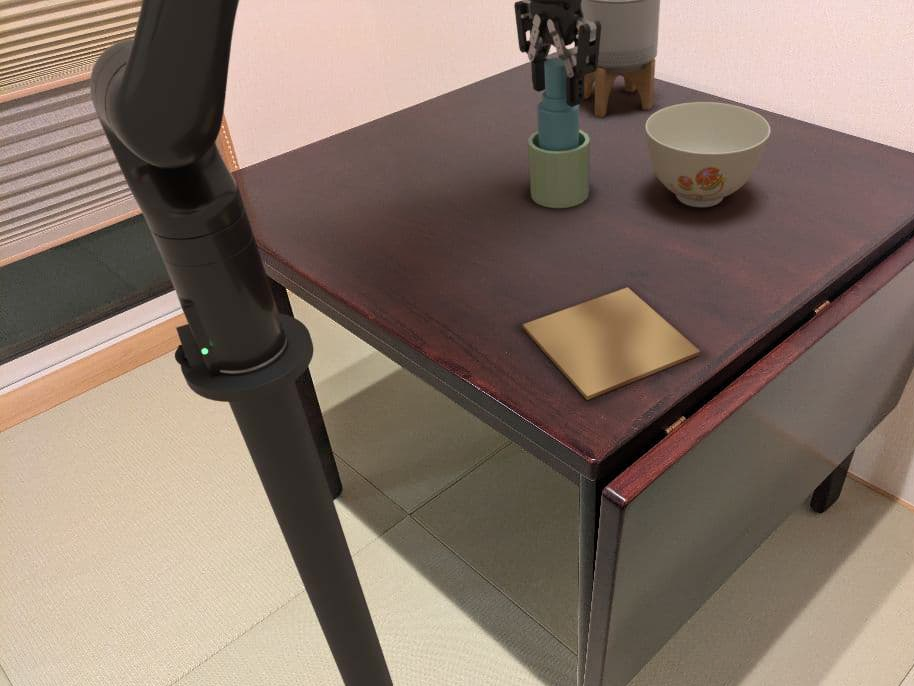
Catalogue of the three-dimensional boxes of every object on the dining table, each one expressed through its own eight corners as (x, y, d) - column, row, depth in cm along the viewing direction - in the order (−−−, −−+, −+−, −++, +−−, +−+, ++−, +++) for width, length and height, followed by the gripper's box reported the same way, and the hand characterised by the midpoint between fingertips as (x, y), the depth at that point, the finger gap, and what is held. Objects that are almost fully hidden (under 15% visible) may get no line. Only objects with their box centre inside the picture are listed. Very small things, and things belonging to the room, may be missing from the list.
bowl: (621, 208, 108) (624, 137, 101) (671, 161, 118) (676, 93, 111) (732, 237, 101) (743, 163, 94) (775, 185, 111) (788, 115, 104)
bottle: (552, 203, 108) (548, 73, 96) (533, 187, 112) (528, 59, 100) (586, 192, 110) (586, 64, 98) (566, 177, 114) (565, 51, 102)
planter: (564, 110, 133) (562, -5, 121) (598, 83, 141) (600, -27, 129) (634, 123, 128) (640, 5, 116) (666, 95, 136) (674, -19, 124)
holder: (548, 214, 107) (546, 158, 102) (520, 189, 113) (517, 135, 107) (600, 198, 110) (600, 143, 105) (570, 175, 115) (569, 121, 110)
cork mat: (587, 400, 79) (587, 396, 79) (522, 328, 89) (522, 324, 88) (699, 355, 84) (700, 350, 84) (627, 291, 93) (627, 286, 93)
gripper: (491, -54, 93) (501, 89, 105) (570, -31, 85) (571, 122, 96) (541, -65, 97) (545, 74, 108) (621, -44, 88) (617, 105, 100)
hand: (557, 96), depth 102 cm, fingers open, 6 cm apart
